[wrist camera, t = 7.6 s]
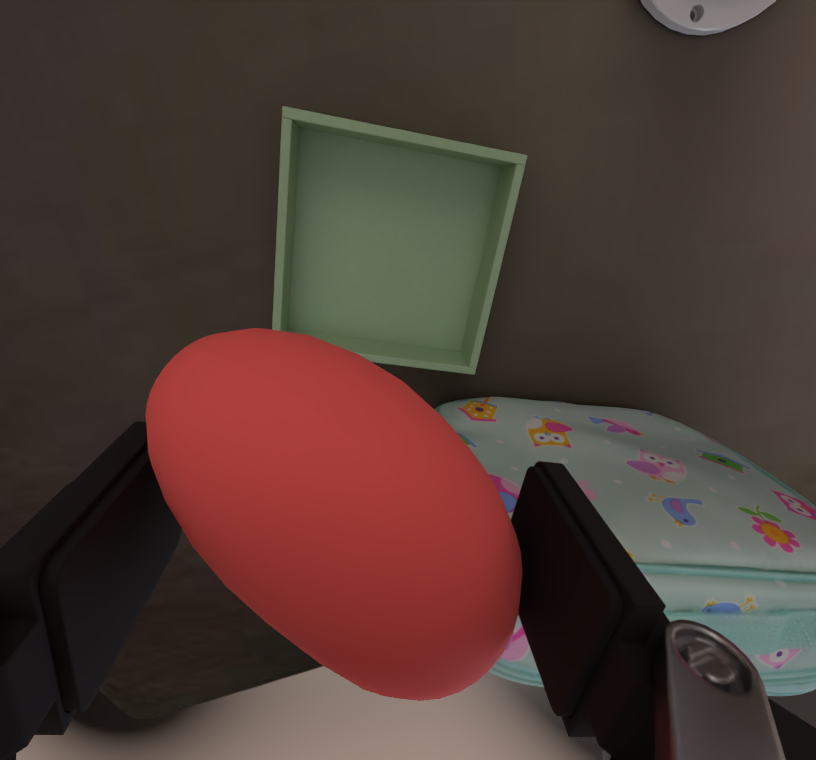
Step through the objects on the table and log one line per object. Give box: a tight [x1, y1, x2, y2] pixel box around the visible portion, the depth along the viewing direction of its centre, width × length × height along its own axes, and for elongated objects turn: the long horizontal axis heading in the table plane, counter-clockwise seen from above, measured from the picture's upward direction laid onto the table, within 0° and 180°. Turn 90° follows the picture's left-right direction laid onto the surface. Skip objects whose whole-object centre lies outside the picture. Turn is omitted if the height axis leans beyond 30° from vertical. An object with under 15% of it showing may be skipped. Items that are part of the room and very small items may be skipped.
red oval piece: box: [146, 328, 522, 701], centre depth 9 cm, size 5×9×6 cm, turn 24°
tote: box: [272, 106, 527, 375], centre depth 31 cm, size 15×15×4 cm
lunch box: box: [434, 397, 816, 696], centre depth 31 cm, size 27×10×21 cm, turn 82°
